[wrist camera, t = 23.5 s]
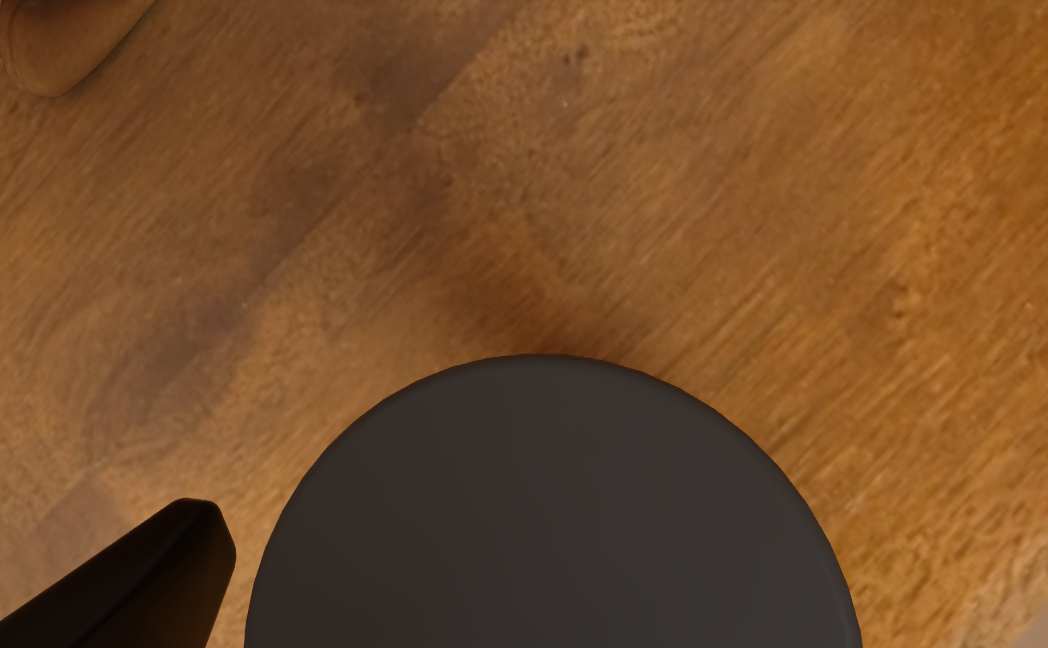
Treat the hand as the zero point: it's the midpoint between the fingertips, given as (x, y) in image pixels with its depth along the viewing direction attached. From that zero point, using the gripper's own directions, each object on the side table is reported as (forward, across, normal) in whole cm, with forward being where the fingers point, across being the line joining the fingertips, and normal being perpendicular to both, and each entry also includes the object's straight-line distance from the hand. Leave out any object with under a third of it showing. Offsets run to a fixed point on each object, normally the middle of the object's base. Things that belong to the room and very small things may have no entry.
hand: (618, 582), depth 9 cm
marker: (+6, 0, +6) cm, 9 cm away
